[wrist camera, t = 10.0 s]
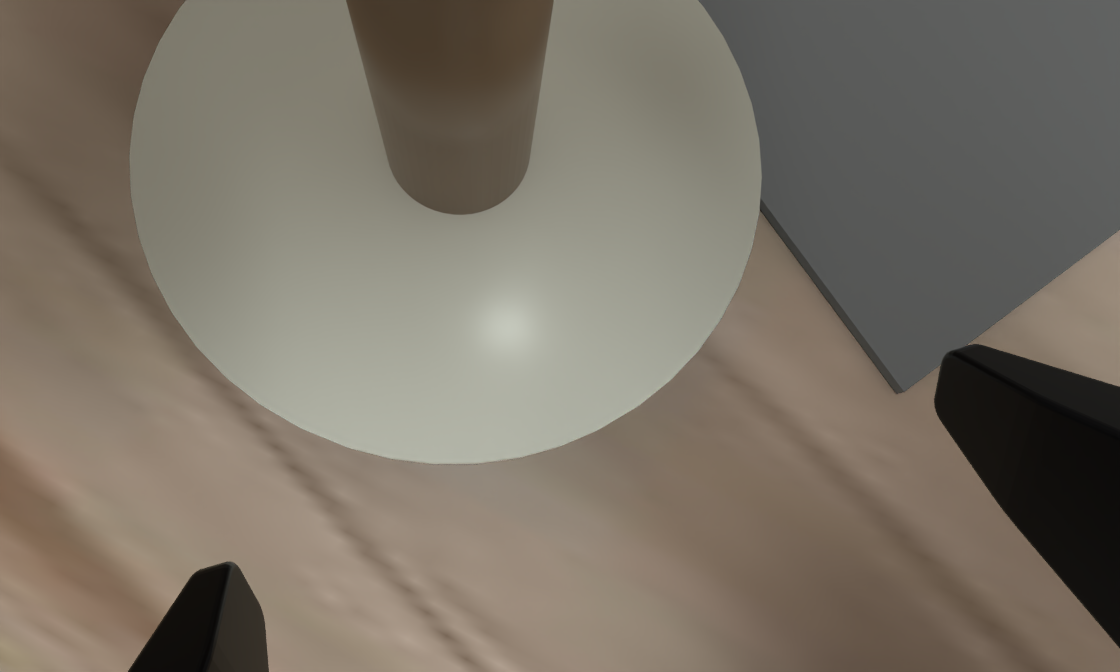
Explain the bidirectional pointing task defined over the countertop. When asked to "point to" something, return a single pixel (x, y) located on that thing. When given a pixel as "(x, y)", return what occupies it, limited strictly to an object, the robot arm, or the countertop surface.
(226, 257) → the lid
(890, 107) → the mat
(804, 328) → the countertop surface
